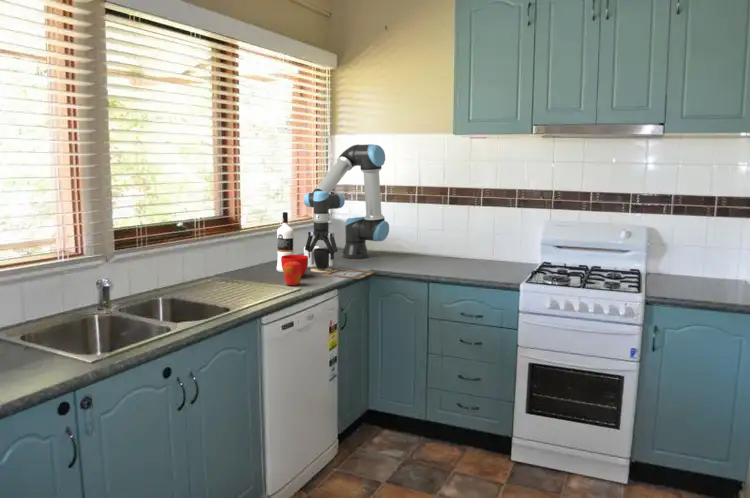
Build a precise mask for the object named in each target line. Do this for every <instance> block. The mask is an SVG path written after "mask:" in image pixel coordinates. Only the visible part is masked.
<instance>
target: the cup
mask: <svg viewBox="0 0 750 498" xmlns="http://www.w3.org/2000/svg"><path fill="white" fill-rule="evenodd" d="M305 247H306V245H305V246H304V247H303V255H305V256H308V266H307V268H316V264H315V260H314V264H312V265H310V258H309V252H308V251H307V250H305ZM320 248H321V247H320V246H319V245H318V246H316V245H315V247H314V249H320ZM314 249H313V251H314Z"/></svg>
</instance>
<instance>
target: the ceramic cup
mask: <svg viewBox="0 0 750 498" xmlns="http://www.w3.org/2000/svg"><path fill="white" fill-rule="evenodd" d="M292 259H293V261H295V262H298V263H300V264H301V266H302V271H301V278H302V277H304V275H305V273H306V272H307V269H308V267H307V266H308V256H305V255H304V254H294V255H285V256H282V257H281V264H282V269H283V266H284V264H285V263H287V262H289V261H292Z"/></svg>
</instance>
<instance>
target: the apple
mask: <svg viewBox="0 0 750 498" xmlns="http://www.w3.org/2000/svg"><path fill="white" fill-rule="evenodd" d="M283 271H284V272H283V277H284V283H285V284H286V285H288V286H298V285H299V284H300V283H301V279H302V277H301V271H302V266H301V264H300V263H298V262H295V261H293V259H292V261H289V262H287V263H285V264H284V266H283Z"/></svg>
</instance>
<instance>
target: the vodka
mask: <svg viewBox="0 0 750 498" xmlns="http://www.w3.org/2000/svg"><path fill="white" fill-rule="evenodd" d="M288 214H289V213H288V212H287V211H284V212H282V225H281V226H279V227H278V229H277V230H276V238H277V252H276V253H277V259H276V261H277V262H276V271H277V272H279V273H284V271H283V269H282V264H281V257H282V256H285V255H295V254H294V253H295V251H294V229H293V228H292V227H291V226H290V225H289V216H288Z"/></svg>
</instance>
